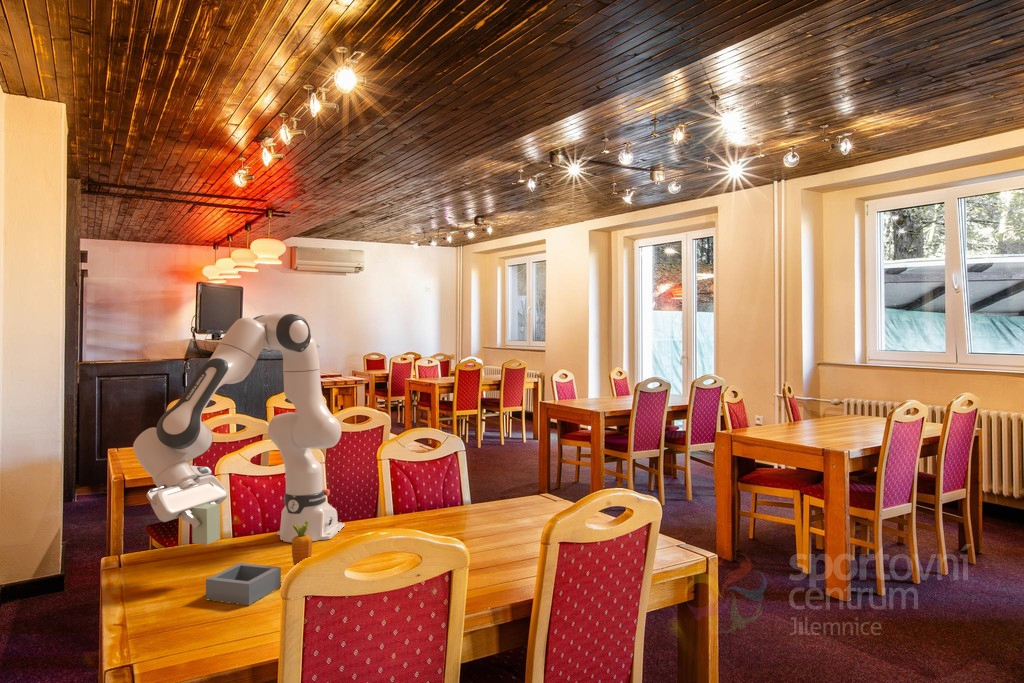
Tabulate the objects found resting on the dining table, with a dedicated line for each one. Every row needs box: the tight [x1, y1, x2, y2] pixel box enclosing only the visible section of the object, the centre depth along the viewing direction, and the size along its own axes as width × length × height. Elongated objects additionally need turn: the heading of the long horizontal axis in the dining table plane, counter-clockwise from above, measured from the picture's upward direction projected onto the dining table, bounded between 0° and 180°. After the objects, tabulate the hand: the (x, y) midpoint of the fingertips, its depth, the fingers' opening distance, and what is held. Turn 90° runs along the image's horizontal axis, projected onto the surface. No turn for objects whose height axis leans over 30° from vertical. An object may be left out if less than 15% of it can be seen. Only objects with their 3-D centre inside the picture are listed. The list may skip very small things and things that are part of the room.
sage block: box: [191, 503, 221, 545], centre depth 165 cm, size 4×4×9 cm
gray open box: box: [205, 562, 282, 606], centre depth 156 cm, size 12×12×5 cm
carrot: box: [291, 520, 313, 566], centre depth 166 cm, size 5×5×15 cm
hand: (208, 522), depth 164 cm, fingers closed on sage block, 5 cm apart
